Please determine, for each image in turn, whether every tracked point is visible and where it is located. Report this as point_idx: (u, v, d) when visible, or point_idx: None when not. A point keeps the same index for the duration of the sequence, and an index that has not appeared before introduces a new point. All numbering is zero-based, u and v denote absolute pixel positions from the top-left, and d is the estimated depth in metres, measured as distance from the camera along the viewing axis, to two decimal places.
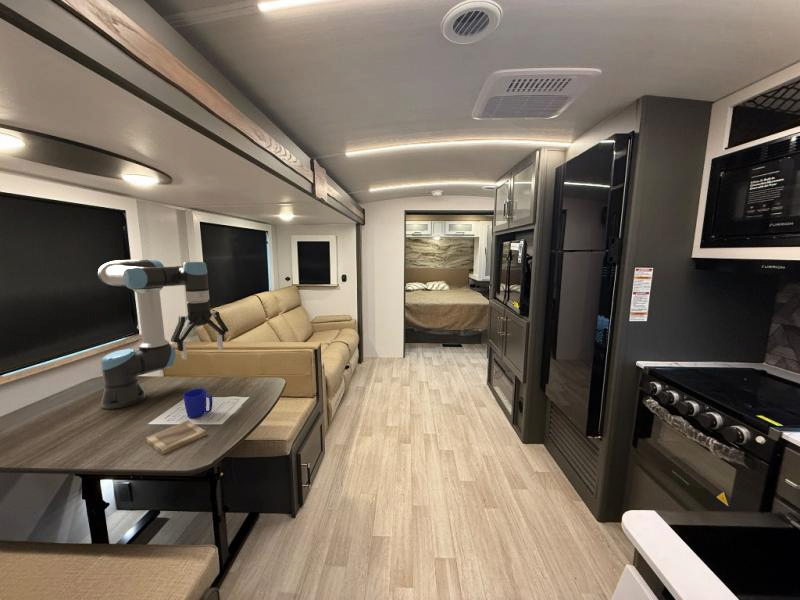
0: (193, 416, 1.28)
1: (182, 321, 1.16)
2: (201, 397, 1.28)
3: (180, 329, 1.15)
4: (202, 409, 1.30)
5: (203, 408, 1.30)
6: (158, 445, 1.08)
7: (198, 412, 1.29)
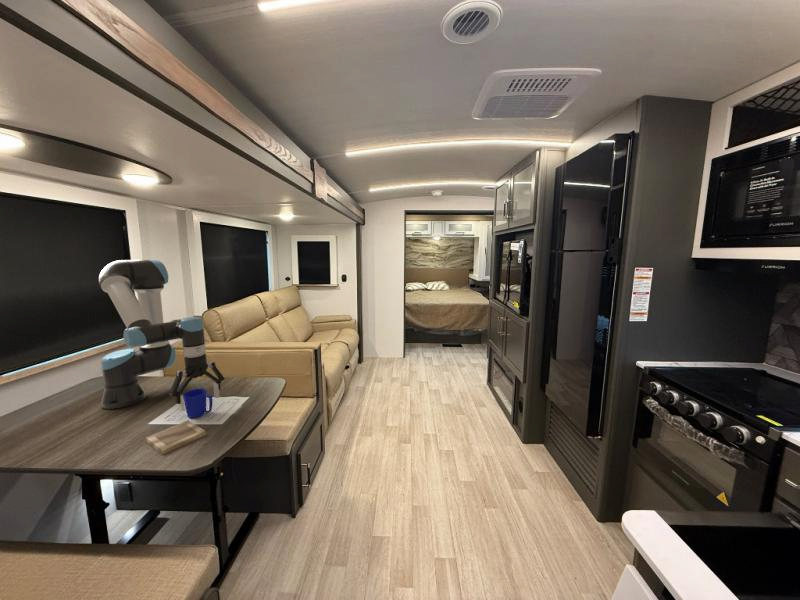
0: (193, 416, 1.28)
1: (180, 376, 1.22)
2: (201, 397, 1.28)
3: (178, 383, 1.22)
4: (202, 409, 1.30)
5: (203, 408, 1.30)
6: (158, 445, 1.08)
7: (198, 412, 1.29)
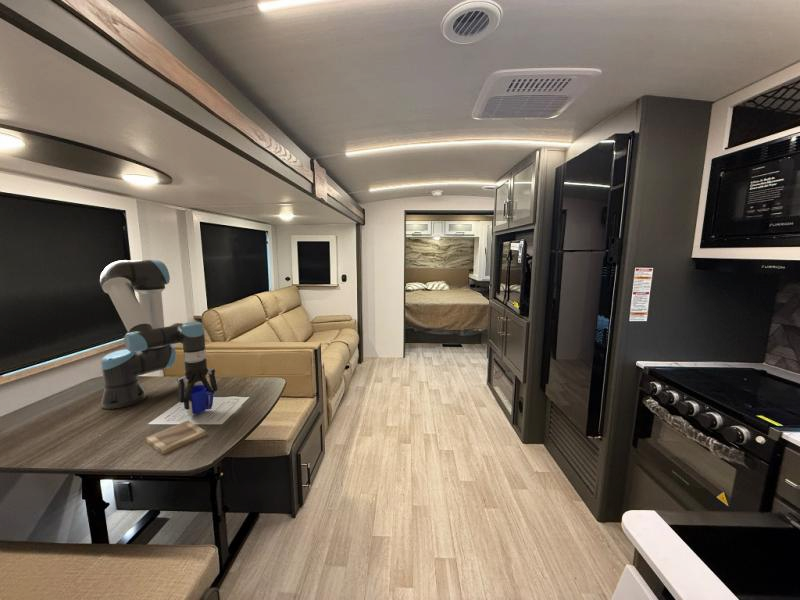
0: (194, 412, 1.29)
1: (181, 383, 1.23)
2: (202, 394, 1.29)
3: (182, 390, 1.24)
4: (203, 405, 1.30)
5: (204, 404, 1.31)
6: (158, 445, 1.08)
7: (199, 408, 1.29)
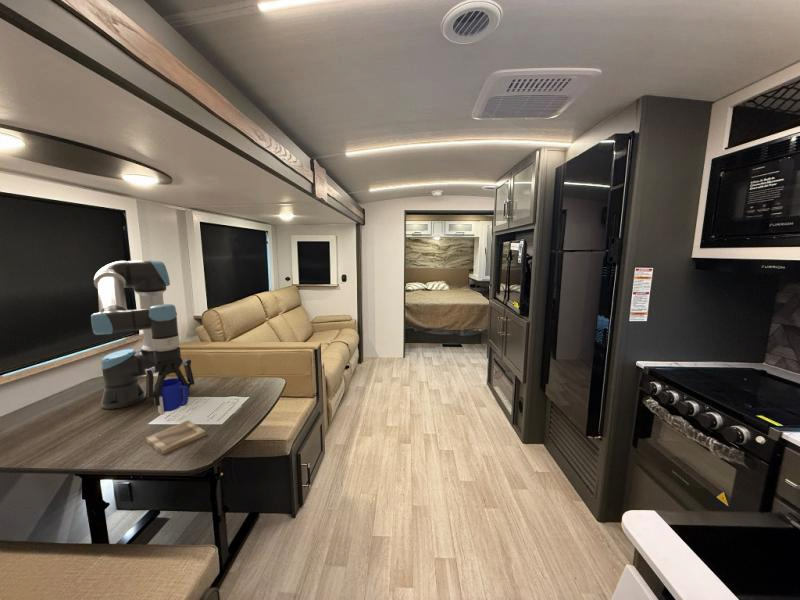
0: (166, 409, 1.11)
1: (149, 375, 1.05)
2: (175, 388, 1.11)
3: (151, 383, 1.06)
4: (176, 402, 1.12)
5: (178, 400, 1.13)
6: (158, 445, 1.08)
7: (172, 405, 1.11)
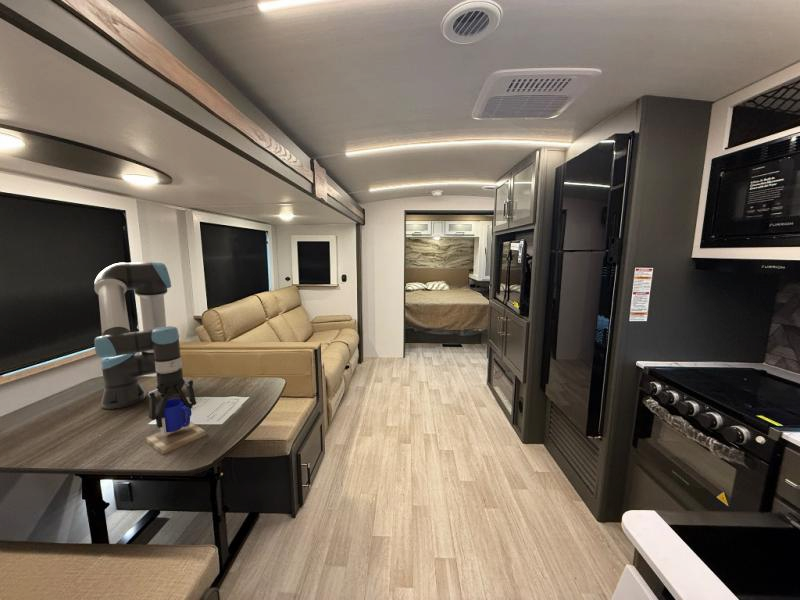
0: (168, 430, 1.12)
1: (152, 397, 1.06)
2: (177, 409, 1.12)
3: (154, 405, 1.07)
4: (179, 422, 1.13)
5: (180, 421, 1.14)
6: (158, 445, 1.08)
7: (174, 426, 1.12)
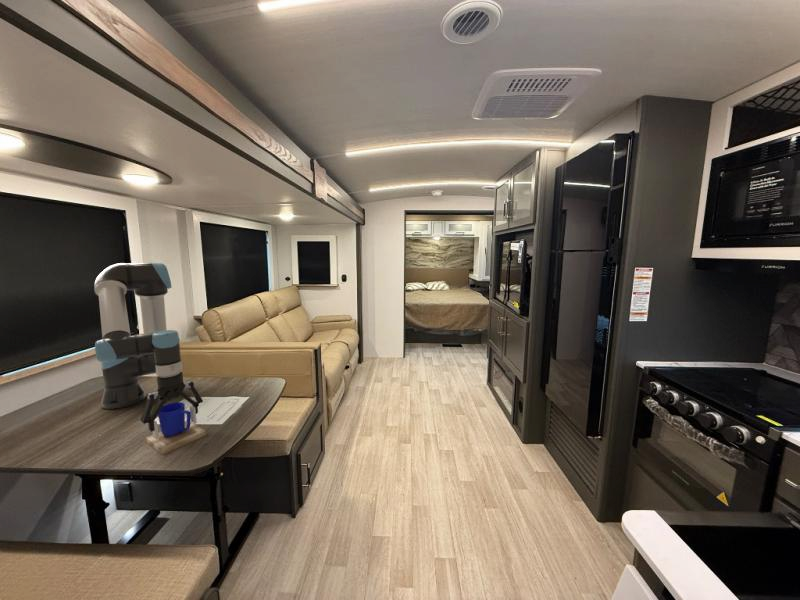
0: (168, 434, 1.12)
1: (151, 399, 1.06)
2: (178, 413, 1.13)
3: (150, 408, 1.06)
4: (179, 426, 1.14)
5: (180, 425, 1.14)
6: (158, 445, 1.08)
7: (174, 430, 1.13)
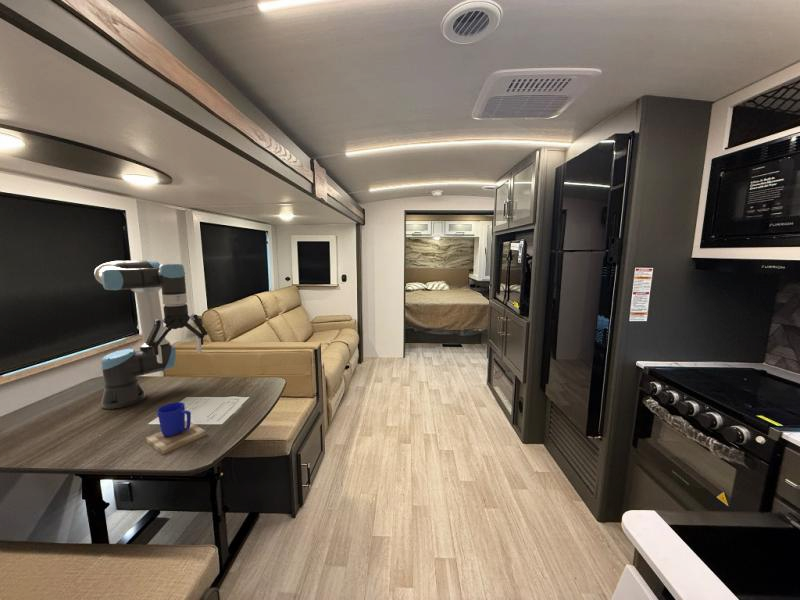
0: (168, 434, 1.12)
1: (157, 325, 1.14)
2: (178, 413, 1.13)
3: (155, 333, 1.13)
4: (179, 426, 1.14)
5: (180, 425, 1.14)
6: (158, 445, 1.08)
7: (174, 430, 1.13)
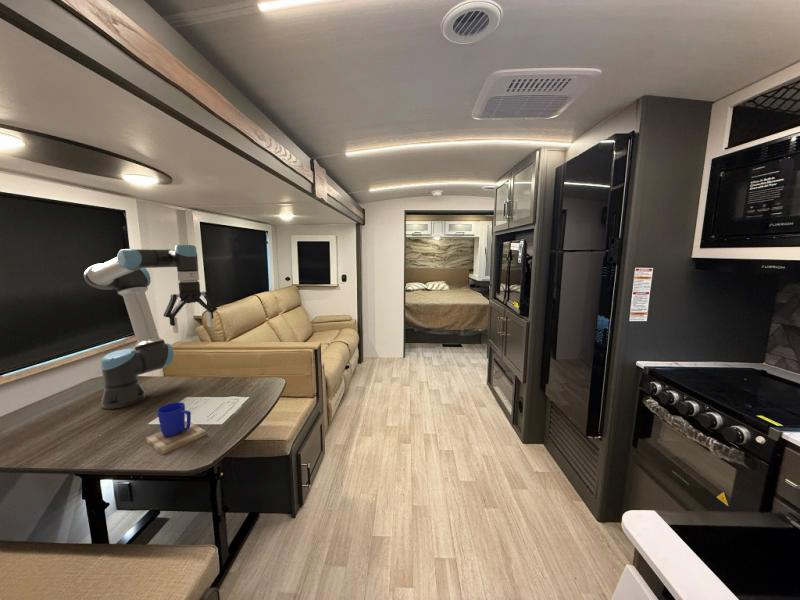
0: (168, 434, 1.12)
1: (174, 298, 1.28)
2: (178, 413, 1.13)
3: (172, 305, 1.27)
4: (179, 426, 1.14)
5: (180, 425, 1.14)
6: (158, 445, 1.08)
7: (174, 430, 1.13)
